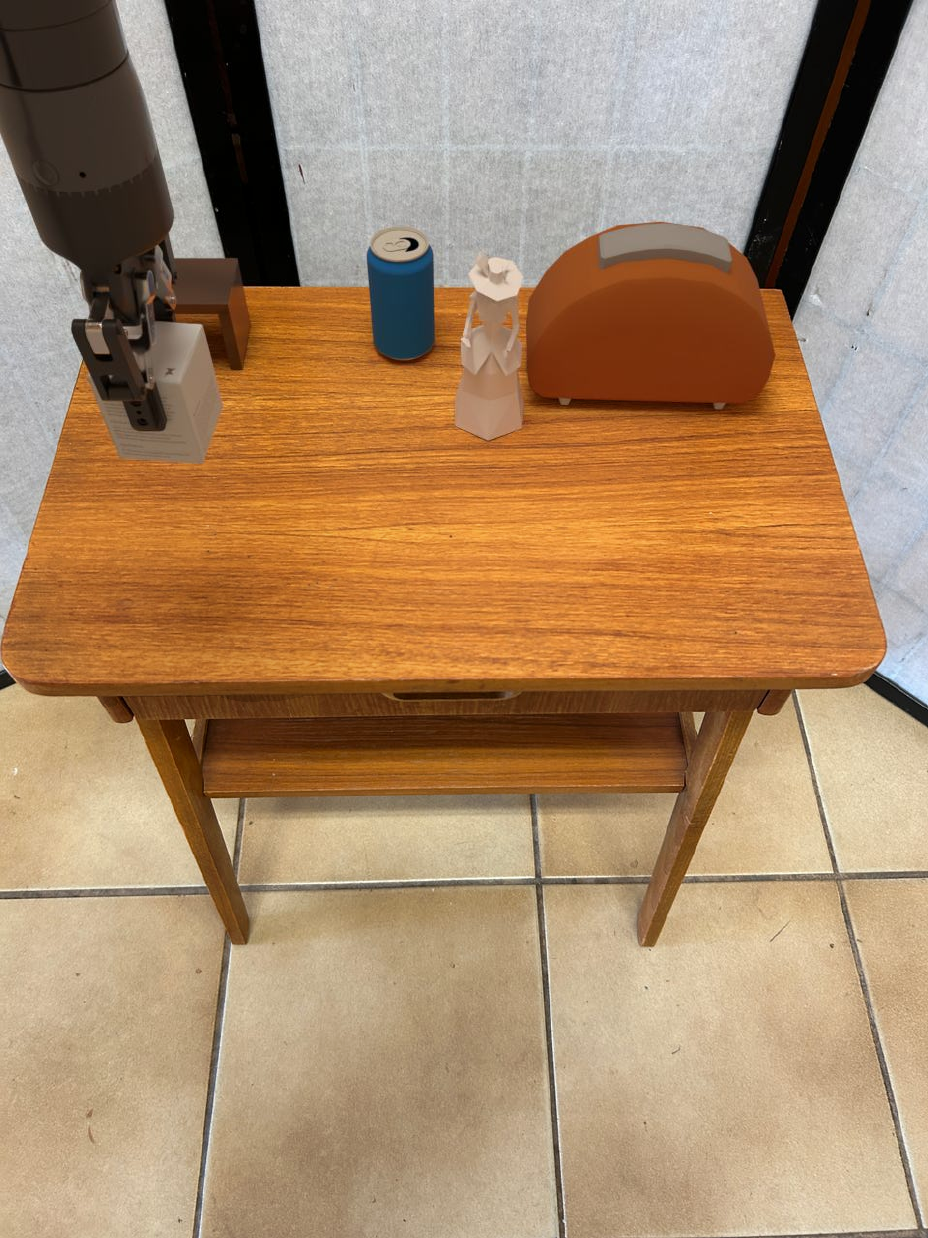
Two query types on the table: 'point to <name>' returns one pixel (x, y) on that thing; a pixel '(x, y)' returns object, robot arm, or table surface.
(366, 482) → the table surface
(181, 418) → the product box
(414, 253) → the beverage can
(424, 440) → the table surface
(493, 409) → the figurine
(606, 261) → the orange toaster
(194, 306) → the shelf
